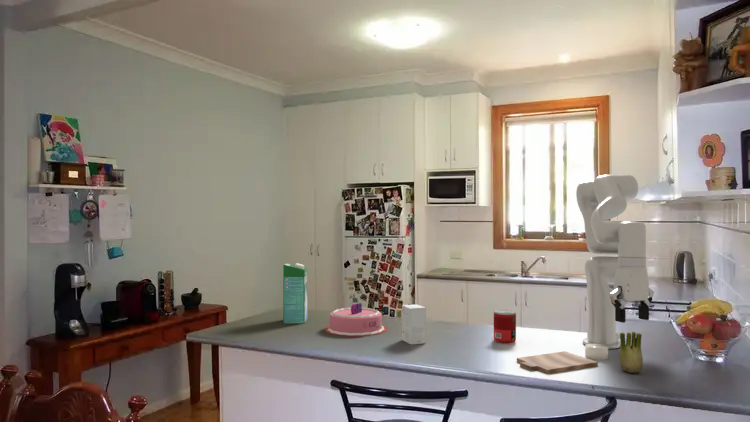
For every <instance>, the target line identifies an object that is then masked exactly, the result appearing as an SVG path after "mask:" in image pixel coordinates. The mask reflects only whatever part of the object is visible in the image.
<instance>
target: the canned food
mask: <svg viewBox="0 0 750 422" xmlns="http://www.w3.org/2000/svg"><path fill="white" fill-rule="evenodd" d="M493 340H494V342H496V343H499V344H514V343H515V342H516V340H517V313H516V311H515V310H512V309H495V310H493Z"/></svg>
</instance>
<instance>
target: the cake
mask: <svg viewBox="0 0 750 422" xmlns="http://www.w3.org/2000/svg"><path fill="white" fill-rule="evenodd" d="M387 330H388V329H387V327H386V326H385V325H383V313H382V312H381V311H379V310H377V309H375V308H370V307H363V304H362V303H361V302H357V303H353V304H352V305H351V306H350V307H342V308H337V309H335V310H332V311H331V312H330V313H329V325H327V326H325V328H324V331H325V333H327V334H330V335H334V336H338V335H339V336H340V337H351V336H352V337H354V338H355V337H357V338H358V336H359V337H370V336H371V335H372V334H373V335H372V336H377V335H381V334H384V333H386V332H387ZM376 333H377V334H376Z"/></svg>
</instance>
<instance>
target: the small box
mask: <svg viewBox="0 0 750 422" xmlns="http://www.w3.org/2000/svg"><path fill="white" fill-rule="evenodd" d="M401 340H402V341H403V342H405V343H407V344H408V345H420V344H421V345H422V344H426V343H427V307H425V306H423V305H419V304H417V303H416V304H402V305H401Z"/></svg>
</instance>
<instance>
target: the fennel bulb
mask: <svg viewBox="0 0 750 422" xmlns="http://www.w3.org/2000/svg"><path fill="white" fill-rule="evenodd" d="M619 333H620V338H619V340H620V341H619V342H620V347H619V364H620V367H621V369H622V371H623V372H627V373H630V374H638V373H639V374H640V372H642V370H643V363H644V359H643V358H644V357H643V353H642V333H640V332H636V331H631V332H626V334H625V332H623V333H622V332H619Z"/></svg>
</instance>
